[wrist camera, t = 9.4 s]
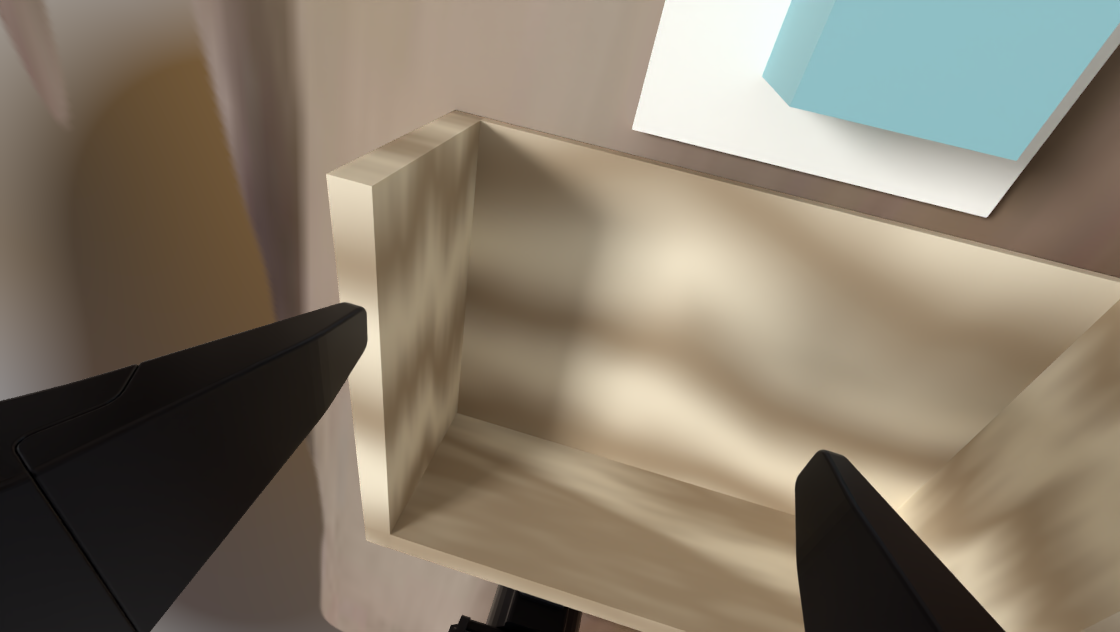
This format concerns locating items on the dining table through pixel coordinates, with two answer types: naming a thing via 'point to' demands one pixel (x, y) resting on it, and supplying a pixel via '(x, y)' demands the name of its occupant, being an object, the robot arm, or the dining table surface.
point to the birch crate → (711, 384)
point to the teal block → (939, 64)
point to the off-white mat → (806, 112)
